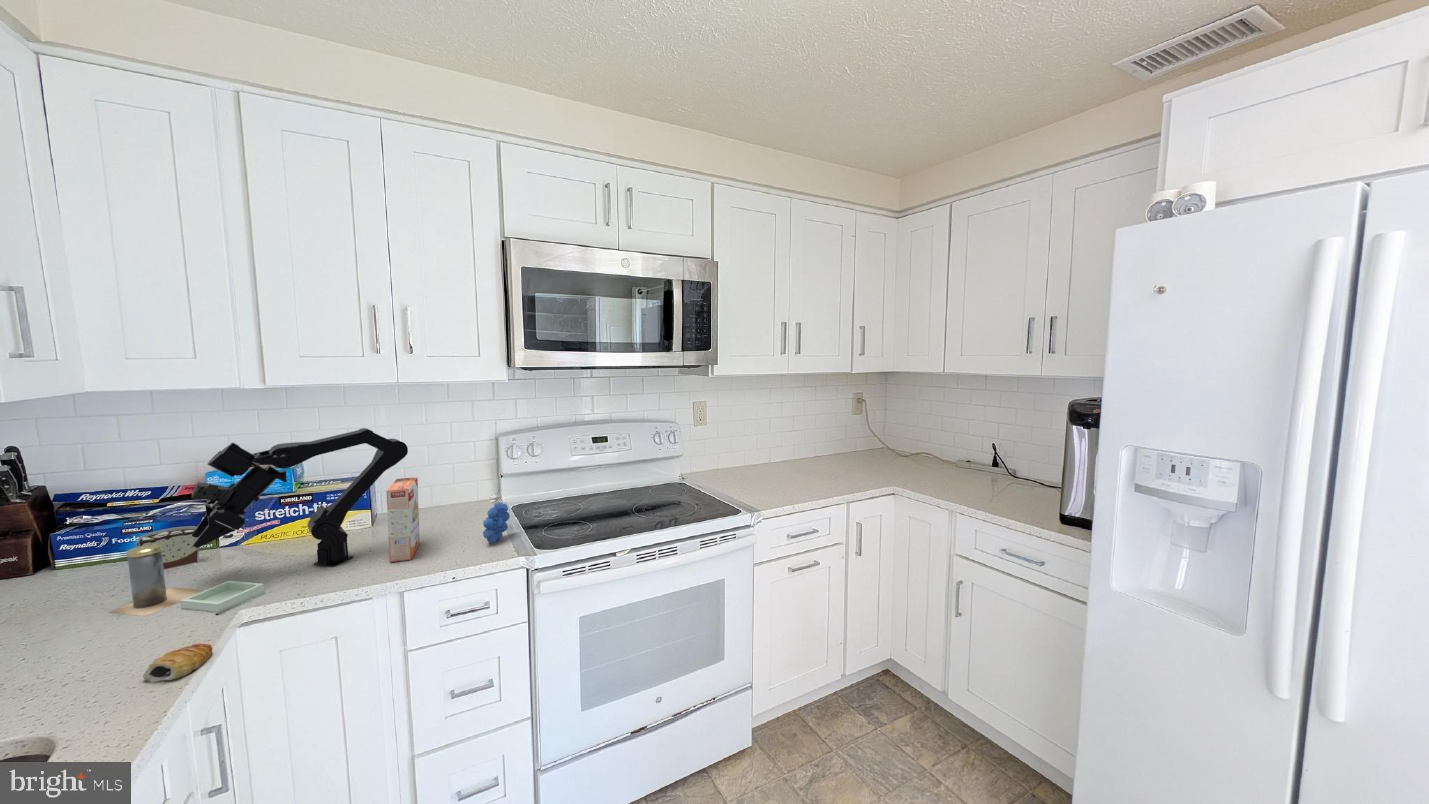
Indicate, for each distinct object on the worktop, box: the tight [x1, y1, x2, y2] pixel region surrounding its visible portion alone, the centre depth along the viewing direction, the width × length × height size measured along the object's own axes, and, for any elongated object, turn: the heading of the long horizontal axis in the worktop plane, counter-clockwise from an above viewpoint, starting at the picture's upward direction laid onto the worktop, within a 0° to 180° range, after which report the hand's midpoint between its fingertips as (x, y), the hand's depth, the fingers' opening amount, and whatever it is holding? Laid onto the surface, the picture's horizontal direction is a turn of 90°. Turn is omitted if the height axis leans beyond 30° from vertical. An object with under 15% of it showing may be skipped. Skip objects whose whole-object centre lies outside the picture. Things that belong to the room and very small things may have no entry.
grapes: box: [482, 501, 511, 544], centre depth 158 cm, size 12×7×12 cm, turn 168°
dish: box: [180, 580, 265, 616], centre depth 119 cm, size 10×10×2 cm
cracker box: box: [386, 477, 421, 563], centre depth 147 cm, size 14×6×21 cm, turn 22°
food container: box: [135, 525, 200, 570], centre depth 137 cm, size 12×6×10 cm, turn 141°
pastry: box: [142, 643, 213, 683], centre depth 95 cm, size 9×7×4 cm
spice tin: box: [125, 544, 167, 608], centre depth 116 cm, size 5×5×13 cm
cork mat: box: [107, 587, 206, 617], centre depth 118 cm, size 12×10×1 cm
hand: (194, 541), depth 121 cm, fingers open, 9 cm apart
